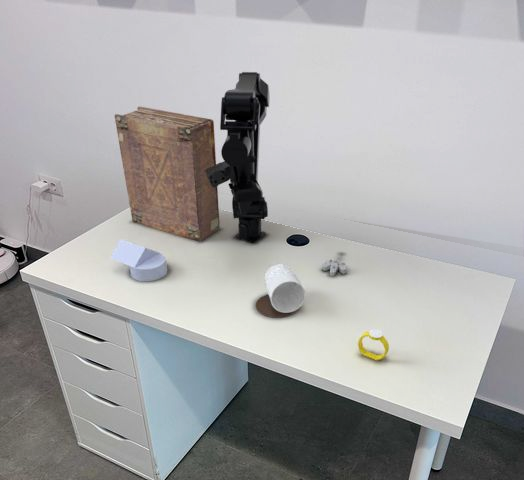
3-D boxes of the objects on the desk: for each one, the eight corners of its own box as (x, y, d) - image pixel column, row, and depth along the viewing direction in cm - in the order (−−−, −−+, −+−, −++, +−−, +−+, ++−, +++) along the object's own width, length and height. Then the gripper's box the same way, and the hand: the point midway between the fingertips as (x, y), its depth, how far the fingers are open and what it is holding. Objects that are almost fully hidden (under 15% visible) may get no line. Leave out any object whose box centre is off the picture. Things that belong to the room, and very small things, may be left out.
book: (131, 221, 158) (113, 114, 139) (152, 210, 164) (137, 105, 145) (200, 242, 147) (190, 128, 129) (220, 229, 153) (213, 119, 135)
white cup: (280, 297, 129) (290, 318, 121) (255, 281, 125) (263, 302, 117) (301, 272, 126) (312, 292, 118) (276, 255, 122) (286, 274, 114)
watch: (354, 355, 108) (357, 331, 104) (360, 348, 110) (363, 324, 106) (382, 365, 106) (386, 341, 102) (388, 357, 107) (392, 333, 104)
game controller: (323, 276, 132) (323, 267, 131) (320, 254, 141) (320, 245, 140) (346, 276, 132) (347, 267, 131) (341, 254, 141) (342, 245, 140)
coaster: (270, 290, 128) (270, 289, 128) (305, 302, 123) (305, 301, 123) (247, 309, 122) (247, 308, 121) (283, 322, 117) (283, 321, 117)
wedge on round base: (112, 270, 136) (149, 285, 130) (107, 246, 132) (145, 260, 126) (137, 255, 142) (174, 269, 136) (133, 232, 137) (171, 245, 132)
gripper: (202, 141, 129) (206, 202, 139) (210, 168, 115) (215, 234, 124) (247, 137, 131) (249, 199, 140) (262, 164, 116) (262, 230, 126)
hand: (243, 215), depth 133 cm, fingers closed
